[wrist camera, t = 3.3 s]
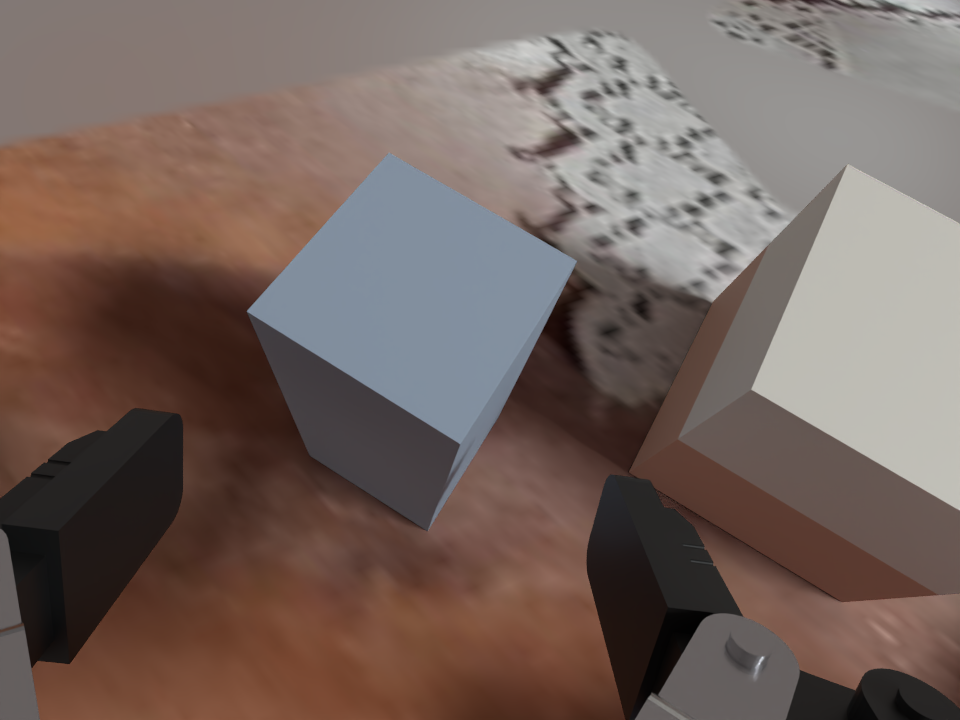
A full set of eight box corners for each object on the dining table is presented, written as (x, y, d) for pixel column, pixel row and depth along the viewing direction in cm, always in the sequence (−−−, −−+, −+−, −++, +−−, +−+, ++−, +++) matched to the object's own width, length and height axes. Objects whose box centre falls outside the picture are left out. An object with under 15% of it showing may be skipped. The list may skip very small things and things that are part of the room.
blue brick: (309, 455, 20) (246, 311, 11) (388, 350, 22) (388, 152, 13) (427, 531, 20) (460, 443, 11) (498, 417, 22) (577, 261, 13)
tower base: (628, 472, 22) (751, 389, 14) (712, 302, 25) (847, 163, 18) (842, 602, 21) (1086, 584, 14) (900, 408, 24) (1122, 310, 17)
